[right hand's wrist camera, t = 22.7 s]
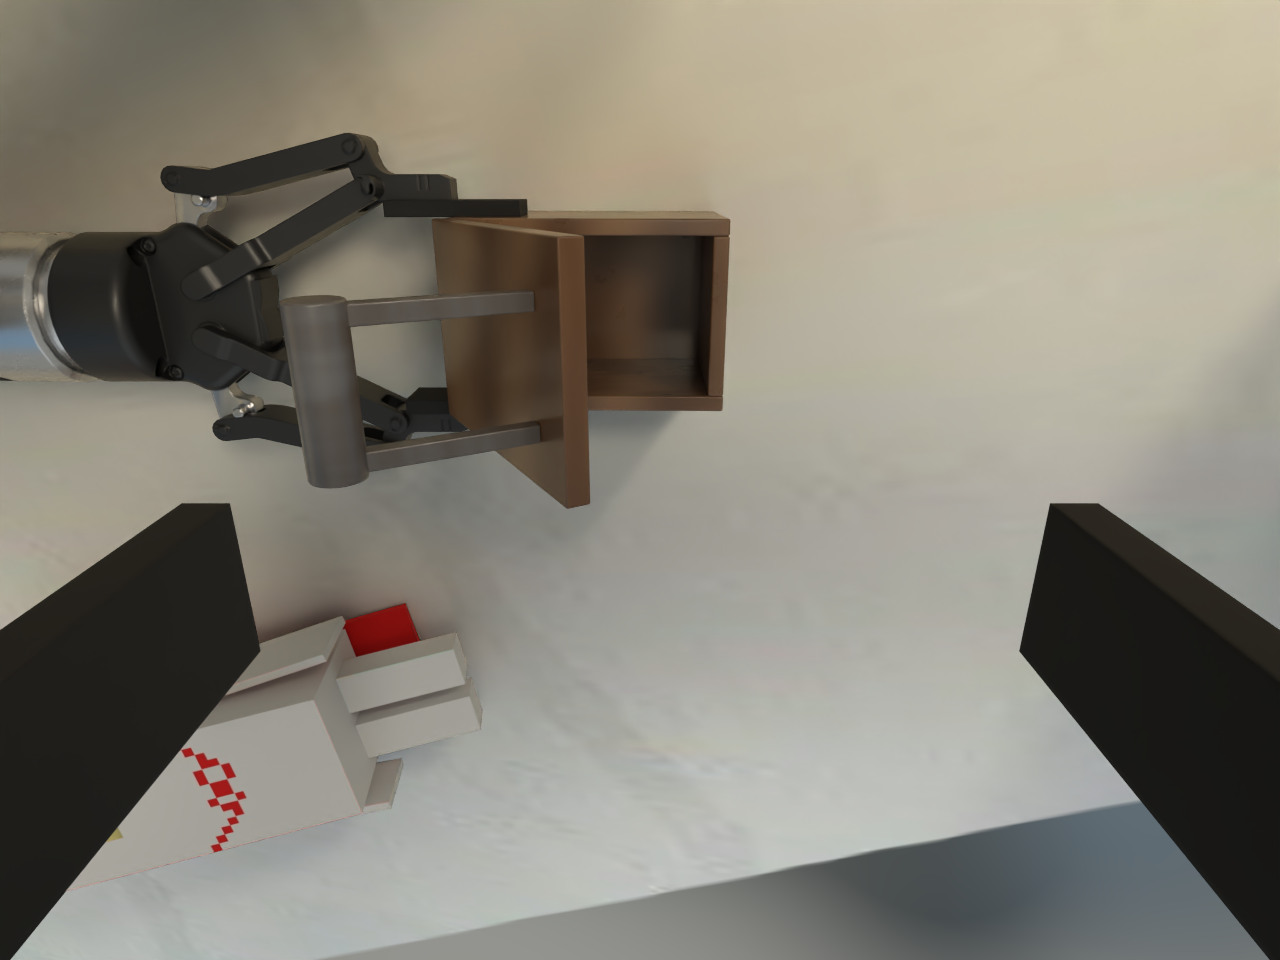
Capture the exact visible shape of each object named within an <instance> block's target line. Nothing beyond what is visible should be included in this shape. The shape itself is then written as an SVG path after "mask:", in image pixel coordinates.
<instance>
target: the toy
mask: <svg viewBox="0 0 1280 960" xmlns="http://www.w3.org/2000/svg"><path fill="white" fill-rule="evenodd" d="M259 646H260V650H261V651H260V653H259V654H258V655H257V656H256V658H255V659H254V660H253V661H252V662H251V664H250V665H249V666H248V667H247V669H246V670H245V671H244V672H243V674H242V675H241V676H240V677H239V678H238V680H237V681H236V682H235V683H234V685H233V686H232V687H231V688H230V690H229V691H228V692H227V693H226V695H225V696H224V697H223V698H222V699H221V701H220V702H219V703H218V704H217V706H216V707H215V708H214V709H213V711H212V712H211V713H210V714H209V715H208V717H207V718H206V719H205V720H204V722H203V723H202V724H201V725H200V727H199V728H198V729H197V730H196V731H195V733H194V734H193V735H192V736H191V738H190V739H189V740H188V741H187V743H186V744H185V745H184V746H183V748H182V749H181V750H180V751H179V752H178V754H177V755H176V756H175V757H174V759H173V760H172V761H171V762H170V764H169V765H168V766H167V767H166V768H165V770H164V771H163V772H162V773H161V775H160V776H159V777H158V778H157V780H156V781H155V782H154V783H153V784H152V786H151V787H150V788H149V789H148V791H147V792H146V793H145V794H144V796H143V797H142V798H141V799H140V801H139V802H138V803H137V804H136V805H135V807H134V808H133V809H132V810H131V812H130V813H129V814H128V815H127V817H126V818H125V819H124V820H123V821H122V823H121V824H120V825H119V826H118V828H117V829H116V830H115V831H114V833H113V834H112V835H111V836H110V837H109V839H108V840H107V841H106V842H105V844H104V845H103V846H102V847H101V849H100V850H99V851H98V852H97V854H96V855H95V856H94V857H93V858H92V860H91V861H90V862H89V863H88V865H87V866H86V867H85V868H84V870H83V871H82V872H81V873H80V874H79V876H78V877H77V878H76V879H75V881H74V882H73V883H72V884H71V886H70V887H69V888H68V889H67V890H66V891H69V890H73V889H77V888H81V887H84V886H88V885H92V884H96V883H100V882H103V881H107V880H111V879H115V878H119V877H122V876H126V875H130V874H134V873H138V872H141V871H145V870H149V869H153V868H157V867H160V866H164V865H168V864H172V863H176V862H179V861H183V860H187V859H191V858H195V857H198V856H202V855H206V854H210V853H214V852H217V851H221V850H225V849H229V848H233V847H236V846H240V845H244V844H248V843H252V842H255V841H259V840H263V839H267V838H271V837H274V836H278V835H282V834H286V833H290V832H293V831H297V830H301V829H305V828H309V827H312V826H316V825H320V824H324V823H328V822H331V821H335V820H339V819H343V818H347V817H350V816H354V815H358V814H364V813H369V812H375V811H381V810H386V809H391V808H392V804H393V801H394V797H395V793H396V790H397V786H398V783H399V779H400V775H401V772H402V768H403V761H402V758H401V759H395V760H389V761H383V762H377V759H378V756H380V755H384V754H387V753H391V752H395V751H399V750H403V749H407V748H411V747H414V746H418V745H422V744H426V743H430V742H434V741H438V740H441V739H445V738H449V737H453V736H457V735H461V734H465V733H468V732H472V731H476V730H480V729H481V720H482V707H481V704H480V701H479V698H478V695H477V692H476V689H475V686H474V683H473V680H472V678H468V679H466V674H467V667H468V665H467V662H466V659H465V656H464V653H463V650H462V647H461V644H460V641H459V638H458V635H457V632H454V633H450V634H446V635H442V636H438V637H434V638H430V639H426V640H422V641H420V640H419V637H418V635H417V632H416V629H415V627H414V624H413V622H412V619H411V616H410V614H409V611H408V609H407V606H406V603H405V604H402V605H398V606H395V607H391V608H387V609H384V610H380V611H377V612H373V613H370V614H366V615H363V616H359V617H356V618H352V619H349V620H344V618H343V617H342V616H340V617H337V618H334V619H331V620H328V621H325V622H322V623H319V624H316V625H313V626H310V627H307V628H304V629H301V630H298V631H295V632H292V633H289V634H286V635H283V636H280V637H277V638H275V639H272V640H269V641H266V642H263V643H260V644H259ZM376 762H377V763H376Z"/></svg>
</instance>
